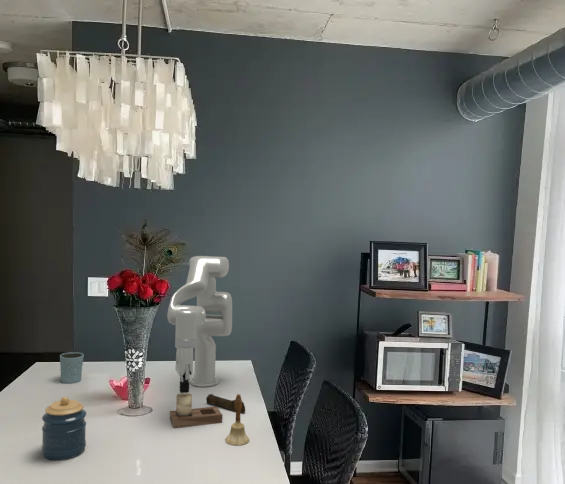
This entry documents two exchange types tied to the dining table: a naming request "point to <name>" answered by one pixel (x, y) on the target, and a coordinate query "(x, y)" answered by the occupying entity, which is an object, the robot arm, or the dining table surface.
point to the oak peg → (184, 404)
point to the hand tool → (223, 402)
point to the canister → (63, 430)
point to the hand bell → (237, 427)
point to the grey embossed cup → (71, 367)
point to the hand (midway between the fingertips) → (184, 392)
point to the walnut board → (197, 417)
